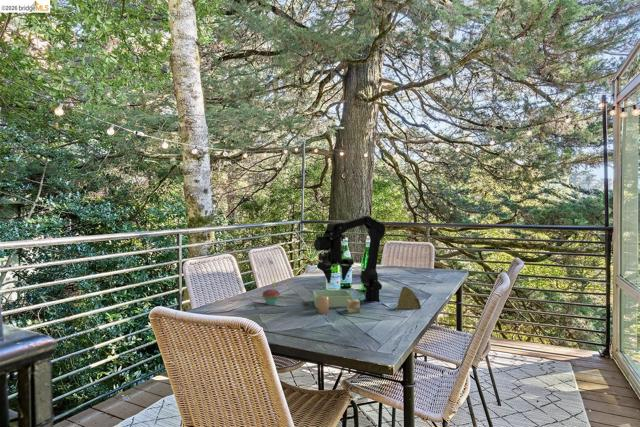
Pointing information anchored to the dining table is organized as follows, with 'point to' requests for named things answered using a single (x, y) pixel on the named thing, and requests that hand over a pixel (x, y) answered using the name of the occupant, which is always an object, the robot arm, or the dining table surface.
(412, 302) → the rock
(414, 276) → the dining table surface
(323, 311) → the tan capsule
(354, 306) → the maple cube
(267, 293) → the cupcake
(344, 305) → the tote
